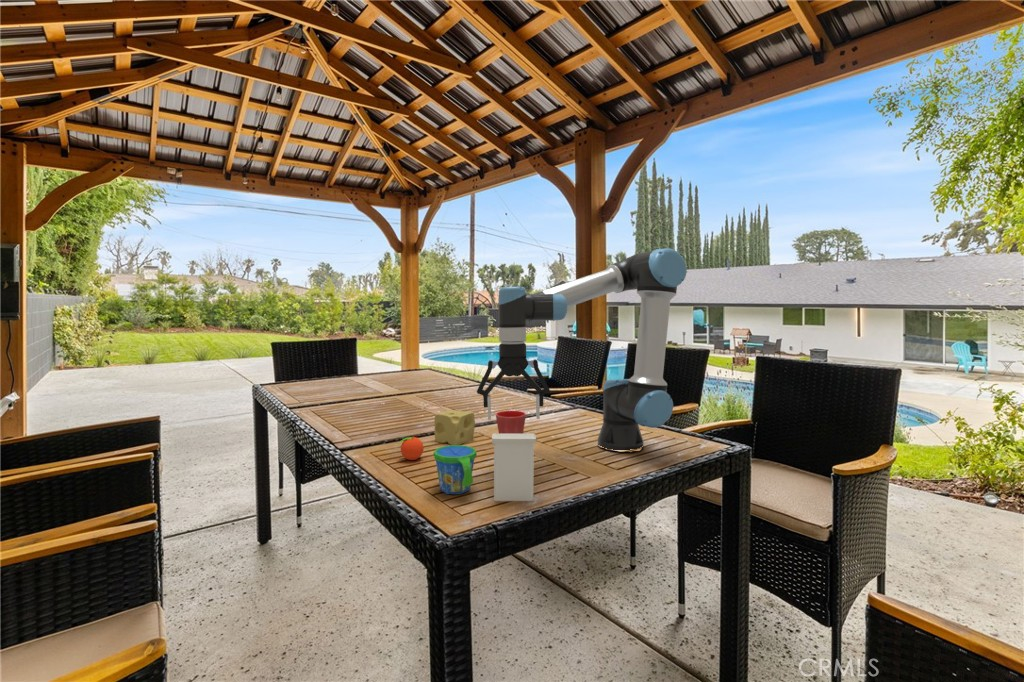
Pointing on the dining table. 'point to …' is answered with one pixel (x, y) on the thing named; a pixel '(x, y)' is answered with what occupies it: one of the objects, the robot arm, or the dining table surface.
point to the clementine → (411, 448)
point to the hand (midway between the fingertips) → (513, 418)
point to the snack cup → (455, 468)
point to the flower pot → (510, 422)
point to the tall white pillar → (513, 466)
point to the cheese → (454, 427)
